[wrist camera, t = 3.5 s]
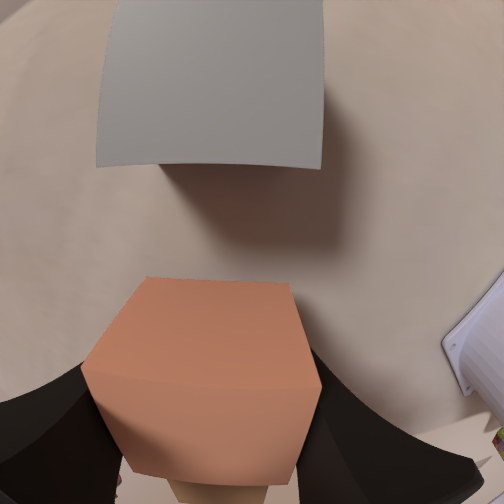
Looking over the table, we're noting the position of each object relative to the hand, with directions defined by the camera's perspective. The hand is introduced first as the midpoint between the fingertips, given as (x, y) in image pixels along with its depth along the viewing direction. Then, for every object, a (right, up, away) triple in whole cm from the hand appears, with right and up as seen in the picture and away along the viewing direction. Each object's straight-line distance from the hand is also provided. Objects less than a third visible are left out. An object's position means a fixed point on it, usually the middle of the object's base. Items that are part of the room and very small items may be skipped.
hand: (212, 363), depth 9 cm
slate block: (0, +10, +1) cm, 10 cm away
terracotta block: (0, 0, +1) cm, 1 cm away
